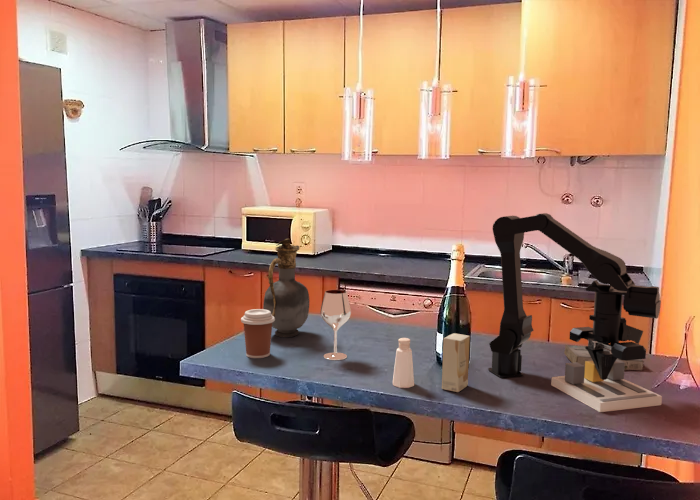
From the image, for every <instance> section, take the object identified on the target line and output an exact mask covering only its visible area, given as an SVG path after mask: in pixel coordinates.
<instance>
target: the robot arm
mask: <svg viewBox="0 0 700 500" xmlns="http://www.w3.org/2000/svg"><path fill="white" fill-rule="evenodd" d="M492 224H493V225H492V234H493V238H494V242H495V245H496V246H497V249H498V250H499V253H500V262H501V279H502V295H503V298H502V299H503V313H502V315H501V319H500V323H499V332H498V336H496V337H495V338H494V339H493V340H492V341H490V342H489V343H488V344H489V347H490V348H489V349H490V352H492V353H491V367H488V368H487V369H488V371H489V372H490V373H493V375H496V376H498V377H499V378H502V379H503V378H504V379H505V378H512V377H521V376H523V377H524V373H523V372H522V362H523V360H522V359H523V356H522V350H521V349H520V348H522V347H523V345H524V343H526V342H527V341H528V340H529V339H530V338H531V335H532V332H534V328H533V324H532V321H533V315H532V314H529V315H527V313H526V311H525V309H524V303H523V302H524V301H523V300H524V299H523V285H522V284H523V282H522V269H521V268H522V266H521V249H522V245H523V242H524V239H525V233H529V232H535V231H538V232H540V233H542V234H543V235H545V236H546V237H547V238H549V239H550V240H552V241H553V242H554V243H555V244H557V245H559V247H561V248H563V249H564V250H565V251H566V252H568V253H569V254H571V255H572V256H574V257H575V258H576V259H578V260H579V261H580V262H581V263H582V264H583V266H584V268H585V269H586V270H587V271H588V272H589V273H590V274H591V275H592V277H594V279H595V280H592V282H591V284H589V285H588V286H586V287H585V289H584V290H585V291H586V292H593V293H594V303H593V305H594V306H593V314H589V315H588V316H589V320H590V321H593V322H592V327H590V326H582V327H578V326H577V327H573V328H572V329H570V331H569V338H568V339H569V340H571V341H573V342H576V343H578V342H580V341H581V340H582V339H583V340H587V345H585V346H586V347H585V349H587V350H588V352H589V354H590V356H591V358H592V360H593V362H594V364H595V367H596V369H597V371H598V374H599V376H600V378H601V379H602V380H606V379H607V377H608V375H609V373H610V371H611V368H612V366H613V364H614V363H615V361H616V359H617V358H618V359H621V360H638V359H641V360H646V359H647V348H646V347H645V346H644V345H643V344H640V342H641V339H642V336H643V333H644V330H643V329H642V330H641V329H639V328H636V327H634V326H630V325H628V324H627V319H626V317H622V309H623V310H624V311H625V312H626V313H627V314H628V315H629V316H635V317H642V318H649V319H650V318H651V319H658V318H659V316H660V311H661V305H662V304H661V303H662V302H661V297H660V287H659V286H656V285H655V286H645V285H644V286H643V285H636V283H635V282H634V281H633V279H632V278H631V276H630V275H629V273H628V272H627V265H626V262H625V261H624V260H623V258H622V257H619V256H617V255H614V254H613V253H611V252H609V251H606V250H604V249H602V248H601V249H600V248H598V247H596V246H593V244H590V243H589V242H588V241H586V240H585V239H583V238H582V236H579V235H578V234H576V233H575V232H574V231H572V230H571V229H569V228H567V226H565V225H563V224H562V223H561V222H559V221H558V220H556V219H555V218H554V217H553V215H551V214H550V213H547V212H544V213H537V214H536V215H531V216H526V217H520V216H517V215H507V216H500V217H499V218H497V219H496V220H495V221H494V222H493V223H492Z"/></svg>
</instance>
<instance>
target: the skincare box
mask: <svg viewBox="0 0 700 500" xmlns="http://www.w3.org/2000/svg"><path fill="white" fill-rule="evenodd" d="M442 341H443V344H442V345H443V347H442V372H441V389H442V390H446V391H451V392H454V393H455V392H456V393H459V392H460V391H462V390H464V389H465V388H466V387H467V386H468V384H469V361H470V341H471V339H470V335H466V334H460V333H456V332H454V333H451V334H449V335H447V336H446V337H443V340H442Z"/></svg>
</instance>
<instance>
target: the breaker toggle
mask: <svg viewBox="0 0 700 500" xmlns="http://www.w3.org/2000/svg"><path fill="white" fill-rule="evenodd" d="M584 378H586V379H588V380H590V381H592V382H598V381H604V380H602V379H601V378H600V376H599V374H598V371H597V369H596V367H595V364H594V362H593V361H585V375H584Z"/></svg>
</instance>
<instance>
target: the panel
mask: <svg viewBox="0 0 700 500" xmlns="http://www.w3.org/2000/svg"><path fill="white" fill-rule="evenodd" d="M624 368H625V362H622V361H620V360H617V359H616V361H615V363H614V364H613V366H612V368H611V371H610V373H609V375H608V377H607V379H606V380H604V381H598V382H592V381H590V380H588V379H586V378H584V375H585V366H583V365H581V364H579V363H577V362H575V363H571V362H566V363H565V367H564V375H560V376H559V375H558V376H551V381H550V382H551V384H550V385H551V386H552V387H554V388H556V389H557V390H559V391H561V392H562V393H564V394H566V395H568V396H569V397H572V398H573V399H576V400H577V401H579V402H581V403H583V404H584V405H586V406H588V407H589V408H592V409H593V410H595V411H596V412H598V413H604V412H606V413H607V412H613V411H621V410H631V409H638V408H647V407H655V406H656V407H657V406H662V400H663V395H660V394H658V393H656V392H654V391H651V390H649V389H647V388H644V386H641V385H638V384H636V383H633V382H631V381H630V380H628V379H627V380H626V379H625V370H624Z"/></svg>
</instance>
